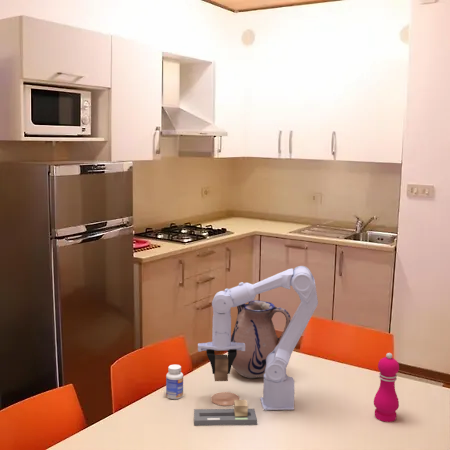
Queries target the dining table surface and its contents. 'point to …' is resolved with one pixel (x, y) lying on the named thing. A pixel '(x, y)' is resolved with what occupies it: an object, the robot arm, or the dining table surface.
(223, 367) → the block
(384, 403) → the pepper mill
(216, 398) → the coaster
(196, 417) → the switch panel
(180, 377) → the pill bottle
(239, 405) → the switch tab
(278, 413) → the dining table surface
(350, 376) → the dining table surface
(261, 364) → the ceramic pitcher
